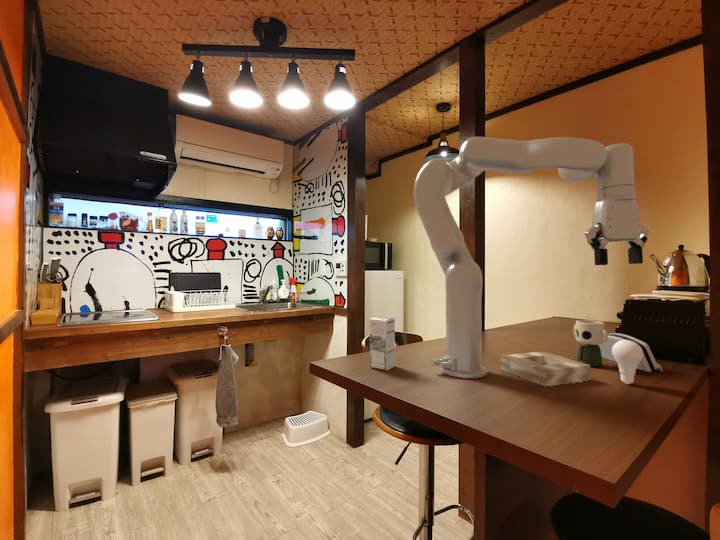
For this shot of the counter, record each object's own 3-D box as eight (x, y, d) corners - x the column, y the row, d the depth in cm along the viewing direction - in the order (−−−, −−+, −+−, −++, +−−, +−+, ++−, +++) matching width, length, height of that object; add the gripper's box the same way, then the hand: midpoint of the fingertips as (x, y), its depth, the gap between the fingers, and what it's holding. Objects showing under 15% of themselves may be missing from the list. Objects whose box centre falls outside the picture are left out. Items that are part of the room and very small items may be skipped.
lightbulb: (605, 380, 85) (605, 337, 85) (627, 379, 86) (627, 337, 86) (626, 388, 79) (626, 343, 79) (650, 388, 80) (650, 342, 80)
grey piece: (664, 371, 93) (653, 338, 92) (649, 377, 92) (638, 344, 92) (613, 355, 109) (604, 327, 109) (600, 360, 109) (591, 332, 109)
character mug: (564, 360, 103) (564, 319, 103) (583, 359, 105) (583, 318, 105) (596, 371, 93) (596, 325, 93) (617, 369, 94) (617, 324, 94)
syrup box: (395, 366, 98) (395, 317, 98) (386, 371, 93) (386, 319, 93) (378, 363, 101) (378, 315, 101) (368, 368, 96) (368, 318, 96)
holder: (544, 387, 80) (544, 370, 80) (500, 369, 95) (500, 355, 94) (590, 380, 85) (590, 365, 85) (541, 364, 99) (541, 351, 99)
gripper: (631, 199, 87) (634, 263, 87) (572, 199, 85) (575, 266, 85) (661, 192, 80) (664, 262, 80) (597, 192, 78) (600, 265, 77)
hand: (618, 264), depth 82 cm, fingers open, 9 cm apart
